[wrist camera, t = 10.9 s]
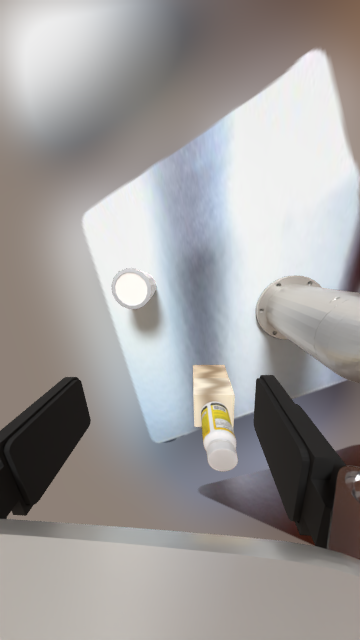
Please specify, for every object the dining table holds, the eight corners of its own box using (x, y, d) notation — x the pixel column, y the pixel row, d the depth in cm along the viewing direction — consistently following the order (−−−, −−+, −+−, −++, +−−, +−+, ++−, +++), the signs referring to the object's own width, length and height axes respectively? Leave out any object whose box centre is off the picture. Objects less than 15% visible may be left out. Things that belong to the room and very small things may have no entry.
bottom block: (224, 365, 40) (228, 378, 35) (223, 391, 42) (227, 407, 37) (193, 365, 40) (193, 377, 36) (194, 391, 42) (194, 406, 37)
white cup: (146, 261, 35) (134, 259, 28) (165, 290, 36) (159, 295, 29) (119, 280, 36) (102, 283, 30) (139, 308, 38) (127, 316, 31)
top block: (229, 377, 35) (234, 395, 30) (228, 407, 37) (233, 427, 32) (193, 377, 35) (193, 394, 31) (194, 406, 37) (194, 426, 33)
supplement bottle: (207, 425, 32) (213, 477, 24) (196, 406, 31) (198, 453, 23) (232, 417, 31) (246, 468, 23) (221, 396, 30) (232, 442, 22)
